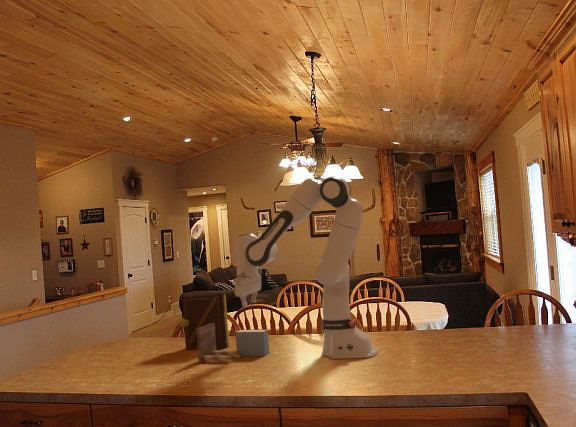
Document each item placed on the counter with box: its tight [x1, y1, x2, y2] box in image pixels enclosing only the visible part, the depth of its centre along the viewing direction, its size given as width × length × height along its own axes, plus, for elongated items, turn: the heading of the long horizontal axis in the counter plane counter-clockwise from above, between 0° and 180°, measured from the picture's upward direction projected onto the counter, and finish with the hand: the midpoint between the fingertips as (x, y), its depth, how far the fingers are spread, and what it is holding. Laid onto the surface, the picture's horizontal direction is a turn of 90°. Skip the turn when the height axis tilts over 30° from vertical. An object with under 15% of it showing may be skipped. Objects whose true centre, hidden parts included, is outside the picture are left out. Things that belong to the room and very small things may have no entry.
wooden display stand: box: [196, 323, 241, 364], centre depth 222 cm, size 14×13×14 cm
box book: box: [235, 329, 270, 357], centre depth 227 cm, size 13×4×10 cm, turn 70°
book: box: [179, 291, 230, 351], centre depth 247 cm, size 22×8×25 cm, turn 84°
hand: (249, 304), depth 227 cm, fingers open, 8 cm apart
